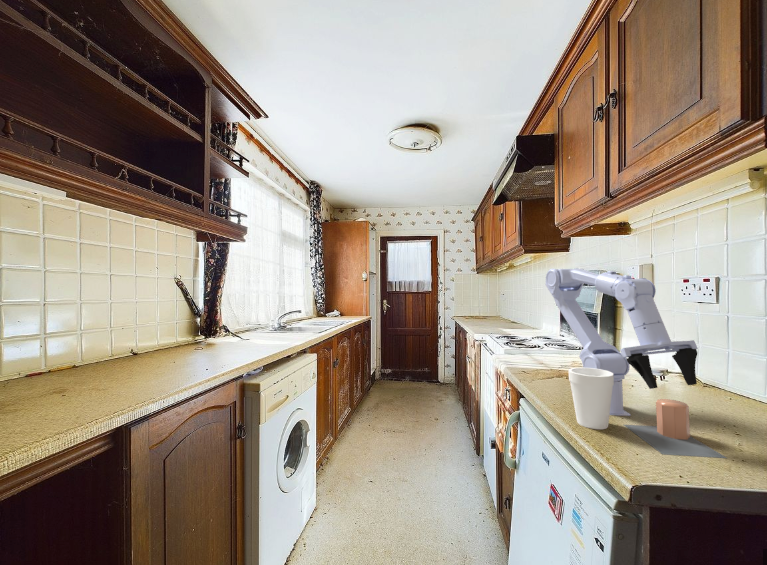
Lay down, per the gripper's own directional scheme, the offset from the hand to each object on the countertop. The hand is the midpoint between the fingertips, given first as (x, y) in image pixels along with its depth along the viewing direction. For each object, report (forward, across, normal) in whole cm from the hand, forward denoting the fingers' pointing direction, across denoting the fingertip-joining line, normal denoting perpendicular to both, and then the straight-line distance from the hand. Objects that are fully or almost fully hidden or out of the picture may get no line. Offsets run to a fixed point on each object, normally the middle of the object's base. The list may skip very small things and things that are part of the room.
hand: (672, 386), depth 74 cm
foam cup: (+7, -15, +10) cm, 19 cm away
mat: (+11, -3, +4) cm, 12 cm away
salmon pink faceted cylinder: (+10, 0, +6) cm, 12 cm away
